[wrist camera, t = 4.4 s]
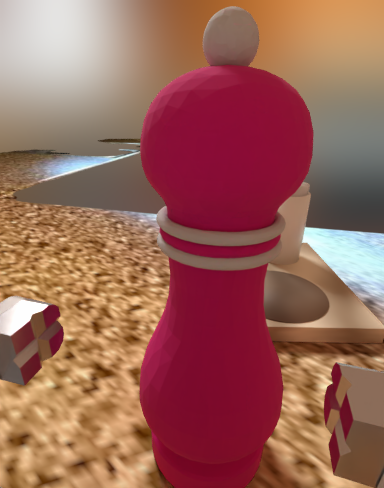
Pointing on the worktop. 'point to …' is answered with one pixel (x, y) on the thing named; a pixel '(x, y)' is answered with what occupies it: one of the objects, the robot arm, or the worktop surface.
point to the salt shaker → (293, 225)
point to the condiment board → (315, 304)
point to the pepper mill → (219, 255)
